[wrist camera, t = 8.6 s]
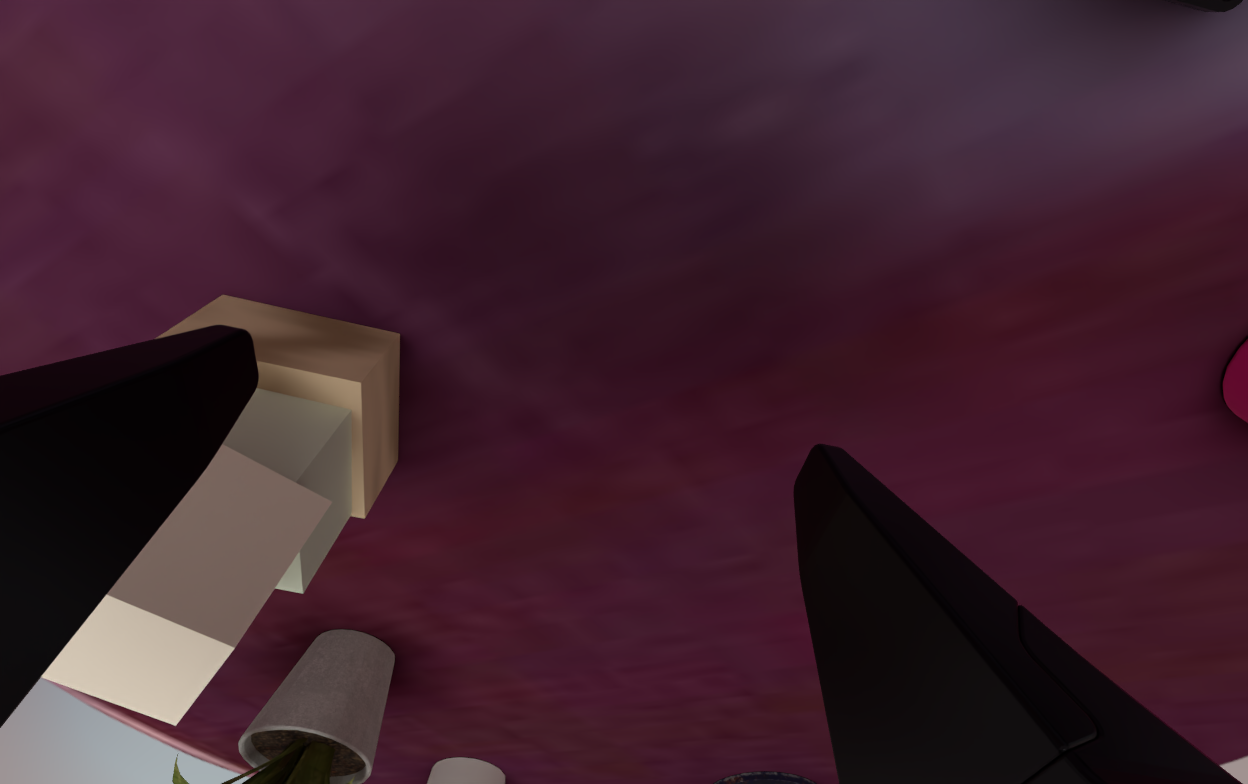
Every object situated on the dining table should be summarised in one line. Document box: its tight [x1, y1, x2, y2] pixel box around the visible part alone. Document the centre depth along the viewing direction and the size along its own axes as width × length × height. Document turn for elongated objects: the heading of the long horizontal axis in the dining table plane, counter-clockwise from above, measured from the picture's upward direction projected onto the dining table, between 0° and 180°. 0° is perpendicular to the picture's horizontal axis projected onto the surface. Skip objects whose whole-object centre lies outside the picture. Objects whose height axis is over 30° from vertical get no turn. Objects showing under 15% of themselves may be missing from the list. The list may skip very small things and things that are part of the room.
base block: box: [156, 295, 400, 519], centre depth 24 cm, size 7×7×4 cm
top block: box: [223, 388, 352, 594], centre depth 21 cm, size 6×6×4 cm
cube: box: [41, 444, 332, 726], centre depth 16 cm, size 5×5×5 cm
